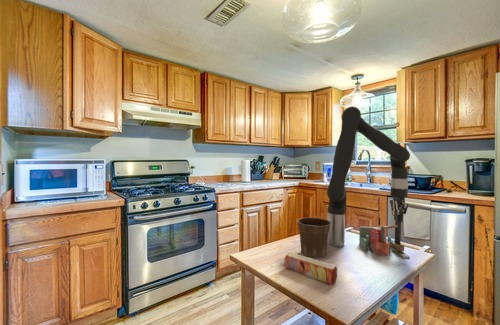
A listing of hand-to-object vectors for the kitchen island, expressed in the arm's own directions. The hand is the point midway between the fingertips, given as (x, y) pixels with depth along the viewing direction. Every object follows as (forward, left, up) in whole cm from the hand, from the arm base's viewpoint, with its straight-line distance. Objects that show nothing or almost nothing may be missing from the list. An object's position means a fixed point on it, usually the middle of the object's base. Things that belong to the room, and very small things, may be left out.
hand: (398, 220), depth 121 cm
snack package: (-50, -29, -17) cm, 60 cm away
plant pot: (-44, -7, -16) cm, 48 cm away
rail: (0, 0, -16) cm, 16 cm away
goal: (-10, +3, -16) cm, 19 cm away
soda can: (-10, 0, -16) cm, 19 cm away
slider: (-6, -2, -16) cm, 17 cm away
